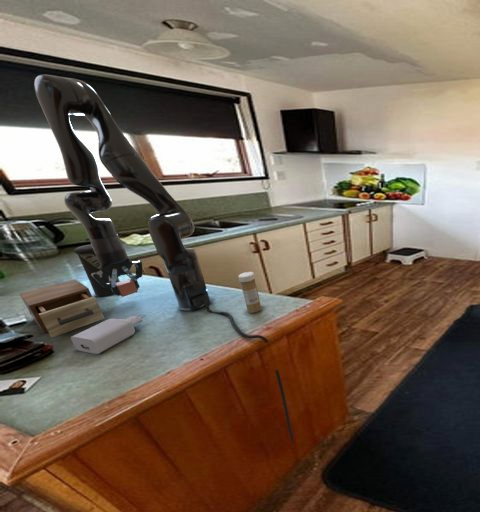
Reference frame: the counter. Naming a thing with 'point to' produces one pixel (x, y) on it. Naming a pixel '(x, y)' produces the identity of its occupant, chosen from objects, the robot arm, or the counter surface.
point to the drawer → (69, 313)
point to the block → (126, 287)
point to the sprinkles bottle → (250, 292)
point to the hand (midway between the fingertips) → (127, 292)
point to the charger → (105, 334)
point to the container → (93, 269)
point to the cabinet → (51, 297)
